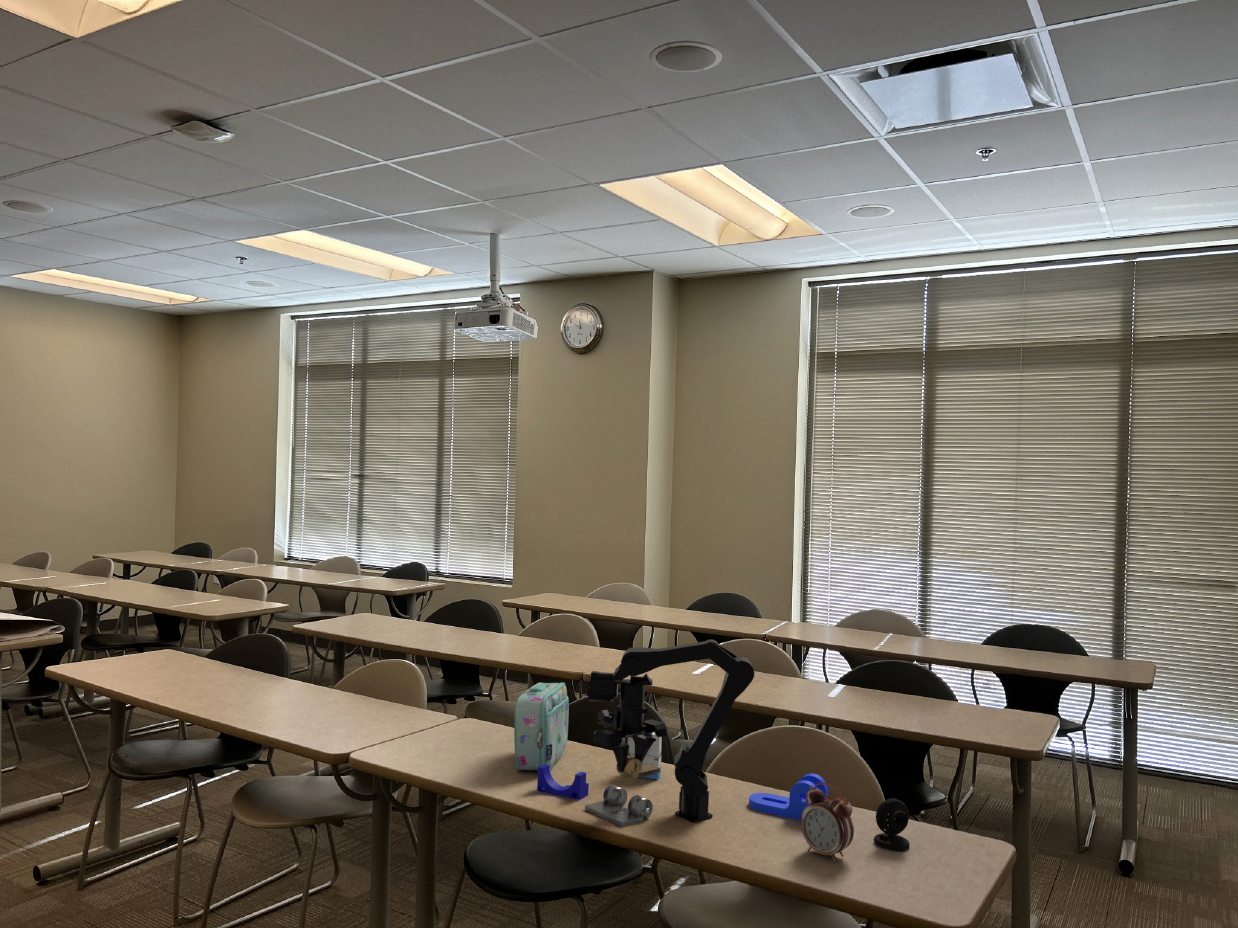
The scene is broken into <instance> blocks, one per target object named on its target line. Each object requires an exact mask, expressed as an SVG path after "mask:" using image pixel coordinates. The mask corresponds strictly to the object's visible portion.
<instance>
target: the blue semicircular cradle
mask: <svg viewBox="0 0 1238 928" xmlns="http://www.w3.org/2000/svg"><path fill="white" fill-rule="evenodd" d="M536 780H537V782H536V786H537V787H536V791H537V792H539V793H544V794H548V795H553V796H557V797H563V798H567V799H571V800H574V801H575V800H576V801H581V800H583V799H584V798H586V797H588V796H589V786H590V783H588V782H587V772H586V771H585V772H584V771H580V772H578V773H576V774H574V779H573V781H572V784H567V785H565V786H564V785H561V784H559V783H558V782H557V781H556V780H555V779H554V778H553V775H552V773H551V770H550V767H549V765H547V764H543V765H541V766H539V767H538V770H537V779H536Z"/></svg>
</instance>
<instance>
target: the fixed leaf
mask: <svg viewBox="0 0 1238 928" xmlns="http://www.w3.org/2000/svg"><path fill="white" fill-rule="evenodd" d="M602 799H603V800H600V801H596V802H594V803H589V804H586V805H584V811H587V812H589V813H591V814H594V815H595V816H597V817H599V818H602V819H604V820H606V821H608V822H610V823H612V824H614V825H616V826H618V827H621V828H623V827H627V826H630V825H634V824H637V823H640V822H643V821H645V820H648V819H649V817H650V816H651V815H652V812H653V809H654V808H653V806H654V805H653V802H652V801H651V800H650V799H648V798H645V797H643V796H641V795H638V794H636V795H635V794H634V795H632V797H631V798H630V799H629V801H628V793H627V791H626V789H624V788H622V787H619V786H617V785H615V784H609V785H607V786H606V787H605V789H604V791H603V795H602ZM627 801H628V804H627V808H625V807H624V806H625V805H626V803H627Z"/></svg>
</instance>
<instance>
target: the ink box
mask: <svg viewBox="0 0 1238 928" xmlns="http://www.w3.org/2000/svg"><path fill="white" fill-rule="evenodd" d="M652 738H655V739H656V741H655V742H653V744H652V746H651V747H650V749H649V751H648V752H647V754H646V756H645V758H644V760H643V762H642V765H646V764H651V765H654V766H656V767H659V768H660V772H659V773H655V774H651V775H647V776H643V777H641V778H640V779H645V778H649V779H648V780H654V779H656V780H655V781H657V780H659V779H660V776H661V773H662V772H661V771H662V769H661V768H662V740H663V739H662V737H657V736H656V735H655V732H653V733H652ZM627 744H628V745H630V746H629V751H628V756H631V757H633V758H635V743H634V741H633V738H632V737H629V738H627Z"/></svg>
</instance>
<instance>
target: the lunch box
mask: <svg viewBox="0 0 1238 928" xmlns="http://www.w3.org/2000/svg"><path fill="white" fill-rule="evenodd" d="M566 685H567V684H566V683H565V682H538V683H536V684H534V685H533V686H531V687H530V688H528V689H527V690H526V691H524V692H523V693H521V695H519V697H518V698H517V700H516V703H515V708H514V721H513V722H514V724H513V725H514V729H513V730H514V731H513V733H514V735H513V736H514V738H513V739H514V758H515V765H516V767H517V770H520V771H522V770H524V771H538V767H539V766H541V765H543V764H547V765H549V767H550V771H551V770H552V768H553V767H554V766H555V764H556V763H557V762H558V761H559V760H560V759H561V757H562V755H563V753H564V752H565V749H566V745H567V743H568V736H569V734H568V733H569V696H568V691H567V686H566Z"/></svg>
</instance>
